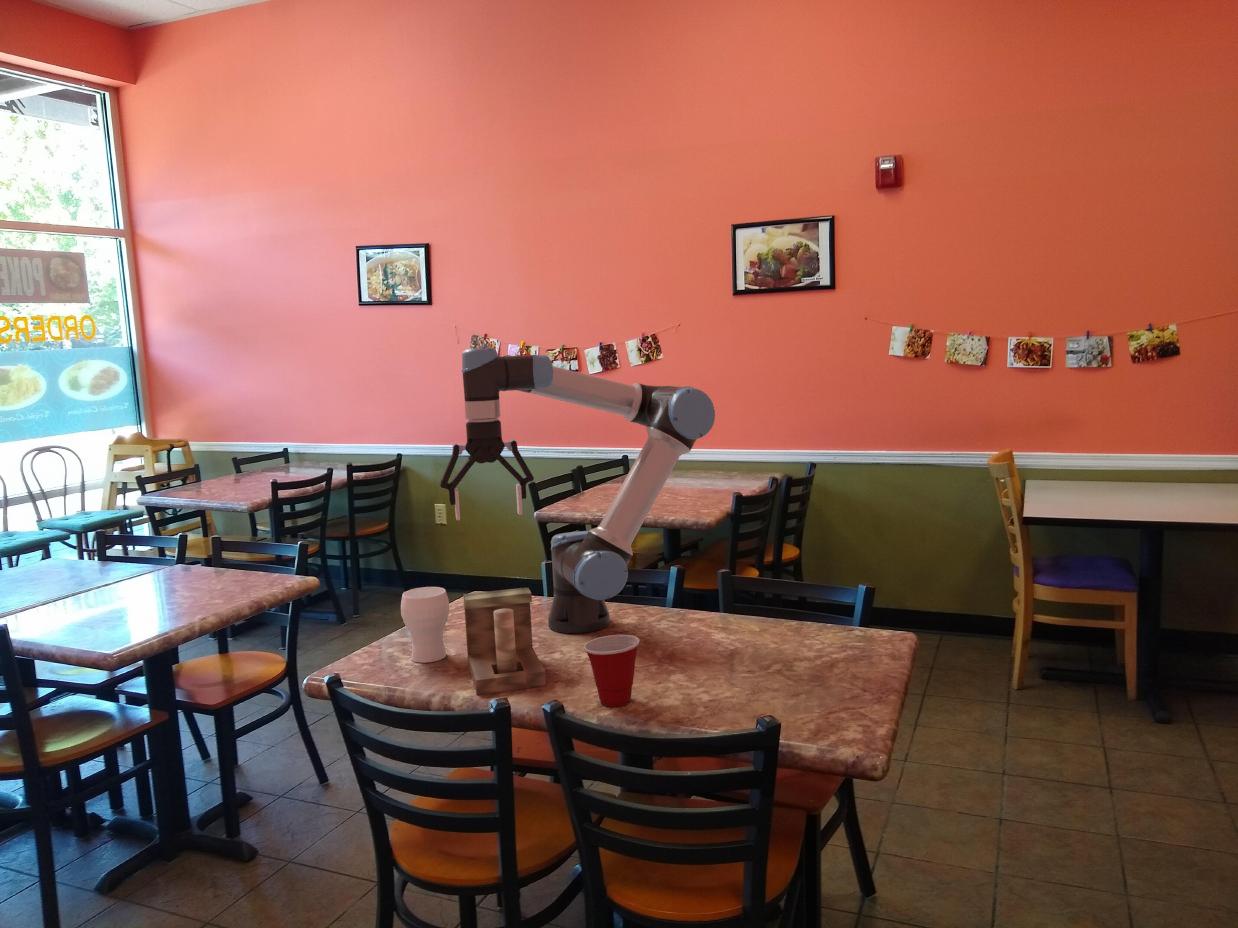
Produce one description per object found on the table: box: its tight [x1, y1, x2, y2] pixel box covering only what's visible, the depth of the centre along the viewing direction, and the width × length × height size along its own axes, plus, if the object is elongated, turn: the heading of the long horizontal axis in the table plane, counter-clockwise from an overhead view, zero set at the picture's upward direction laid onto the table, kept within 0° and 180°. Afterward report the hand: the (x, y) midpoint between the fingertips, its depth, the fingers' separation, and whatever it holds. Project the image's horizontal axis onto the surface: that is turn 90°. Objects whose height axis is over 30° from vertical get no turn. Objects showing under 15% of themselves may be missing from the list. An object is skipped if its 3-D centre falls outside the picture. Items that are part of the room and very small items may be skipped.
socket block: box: [463, 587, 547, 696], centre depth 193 cm, size 14×18×16 cm
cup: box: [400, 586, 450, 664], centre depth 206 cm, size 11×11×15 cm
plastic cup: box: [582, 634, 640, 708], centre depth 176 cm, size 11×11×12 cm
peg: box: [493, 608, 517, 674], centre depth 189 cm, size 4×4×15 cm
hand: (489, 516), depth 202 cm, fingers open, 13 cm apart
